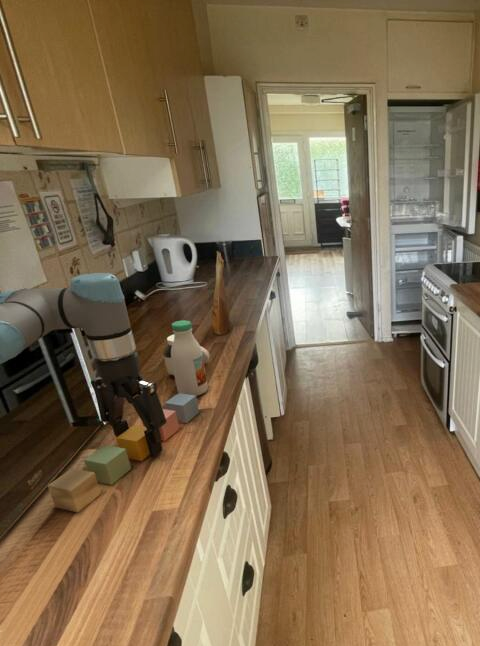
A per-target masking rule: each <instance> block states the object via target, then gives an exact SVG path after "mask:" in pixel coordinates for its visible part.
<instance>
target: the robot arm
mask: <svg viewBox="0 0 480 646" xmlns="http://www.w3.org/2000/svg"><path fill="white" fill-rule="evenodd" d="M119 281H120V280H119V279H118V277H117V276H116V275H114V274H112V273H108V272H94V273H93V272H92V273H84V274H80V275H76V276H74V277H72V278H71V279H70V280H69V285H70V286H69V287H53V288H52V287H51V288H20V289H15V290H6V291H3V292H1V293H0V365H1V364H4V363H6V362H7V361H9V360H11V359H14V358H16V357H17V356H18V355H20V354H21V353H22V352H23V351H24V350H26V348H29V347H30V346H31V345H32V344H34V343H36V342H38V340H40V339H41V338H43V337H45V336H46V335H48V334H49V333H51V332H52V331H56V330H70V329H71V330H72V329H79V328H81V329H83V332H84V335H85V337H86V342H87V344H88V349H89V352H90V356H91V357H92V358H93V365H94V368H95V372H96V374H97V377H95V378H94V379H92V380H90V385H91V387H92V388H93V390H94V395H95V399H96V403H97V408H98V412H99V417H100V418H99V419H100V421H101V422H103V423H106V422H107V423H108V424H109V425H110V426H111V427H112V430H113V434H114V436H115V438H117V437H118V436H119V435H121V434H122V433H124V432H125V431H126V430H128V429H129V428H130V427H129V424H128V423H129V422H128V420H126V419H125V418H126V416H125V415H124V405H125V399H126V401H127V403H128V404H129V405H132V407H133V409H134V410H135V412H136V413H137V416H138V417H139V418H140V420H141V423H142V422H143V423H142V425H143V424H144V425H145V427H146V430H145V431H144V434H145V437H146V441H147V445H148V448H149V452H150V454H149V456H150V458H152V459H153V458H154V459H155V458H156V457H157V456H158V455H159V454H161V452H162V451H163V450H164V449H163V446H162V442H161V441H162V440H161V438H162V437H161V434H160V429H159V428H161V427H162V426H163V425H165V424H166V423H167V421H166V418H165V415H164V412H163V409H164V408H163V406H162V403H161V401H160V398H159V394H158V392H157V391H158V389H157V382H155V381H151V382H147V381H144V379H143V378H142V376H141V374H140V370H141V367H142V365H141V360H140V358H139V357H140V356H139V353H138V351H137V350H136V349H137V345H136V342H135V337H134V333H133V330H132V326H131V322H130V319H129V313H128V309H127V305H126V300H125V295H124V294H123V291H122V288H121V284H120V282H119ZM151 423H152V424H151Z"/></svg>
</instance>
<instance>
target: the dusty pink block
mask: <svg viewBox="0 0 480 646" xmlns="http://www.w3.org/2000/svg"><path fill="white" fill-rule="evenodd" d="M162 409H163V412H164V415H165V418H166V421H167V423H166V424H165V425H163V426H162V427H161V428H159V429H160V434H161V437H162V438H161V440H160V441H162V442H166V441H167V440H168V439H169V438H170V437H172V436H173V435H174V434H175V433H177V432H178V431H179V430H180V425H179V422H178V420H177V415H176V411H173V410H166V408H162ZM141 423H142V426H143V427H145V425H144V424H143V422H142V421H141ZM151 424H152V423H151Z"/></svg>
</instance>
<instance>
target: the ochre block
mask: <svg viewBox="0 0 480 646" xmlns="http://www.w3.org/2000/svg"><path fill="white" fill-rule="evenodd" d="M145 430H146V427H143V425H136V424H133V425H131V426H130V427H129V429H128V430H126V431H125V432H124V433H122V434H121V435H119V436H118V437H115V438H116V442H117V447H119V448H124V449H126V451H127V455H128V459H129V460H133V461H139V462H142V461H143V460H145V459H146V458H147V457H148V456H150V452H149V448H148V445H147V441H146V437H145V434H144V431H145Z"/></svg>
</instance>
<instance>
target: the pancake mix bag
mask: <svg viewBox="0 0 480 646" xmlns="http://www.w3.org/2000/svg"><path fill="white" fill-rule="evenodd" d="M215 253H216V262H215V283H214V293H213V302H212V326H213V331H214V334H215V335H219V336H223V335H225V334H227V333H228V332H229V328H230V308H229V307H230V306H229V300H228V293H227V289H226V287H225V280H224V277H223V271H224V268H225V262H224V259H223V258H222V253H221V252H220V251H218V250H216V252H215Z"/></svg>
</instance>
